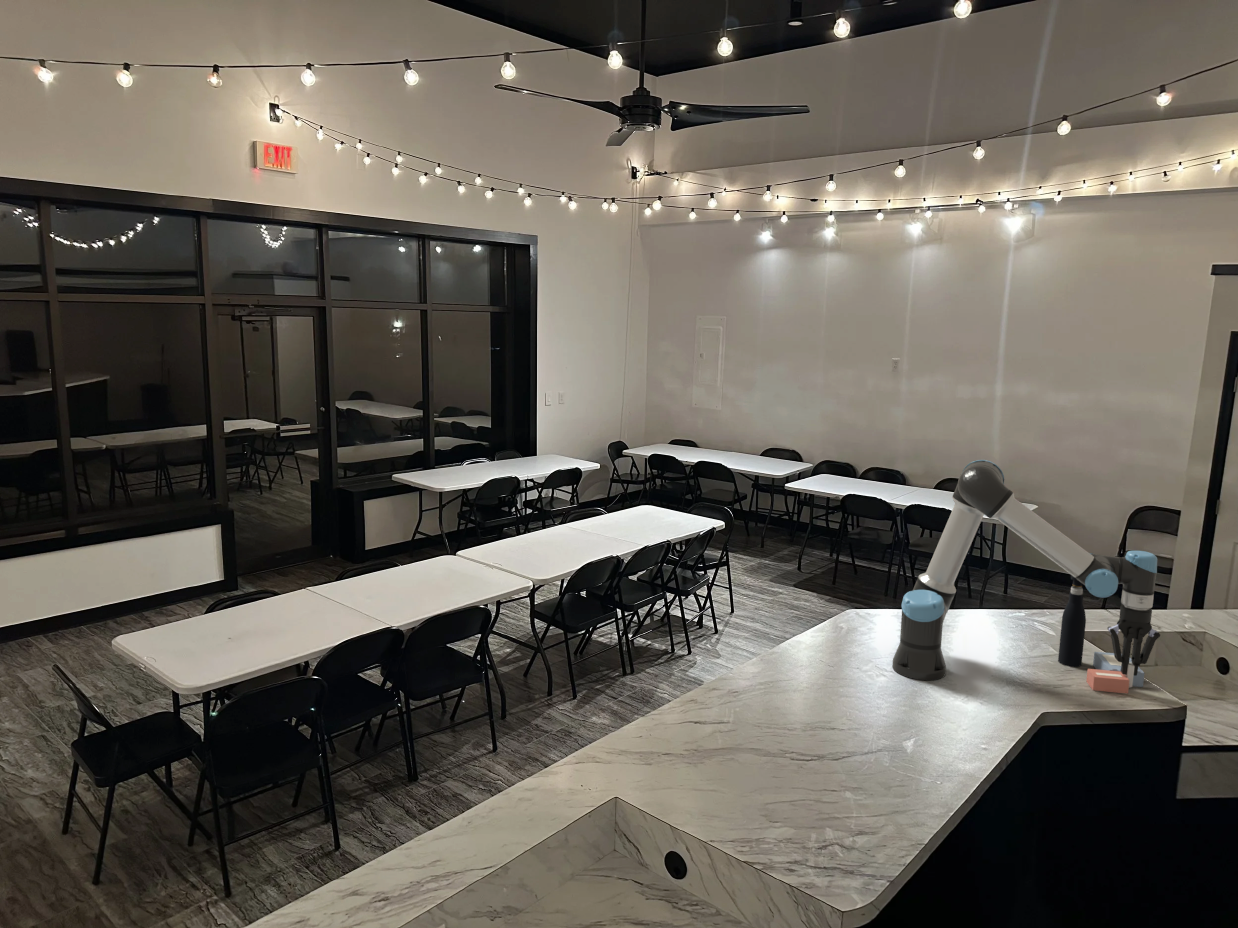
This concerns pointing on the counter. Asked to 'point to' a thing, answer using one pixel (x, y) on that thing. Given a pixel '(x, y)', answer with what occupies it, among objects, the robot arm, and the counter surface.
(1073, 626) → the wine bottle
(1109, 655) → the blue labeled box
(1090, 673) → the red box
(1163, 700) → the counter surface
